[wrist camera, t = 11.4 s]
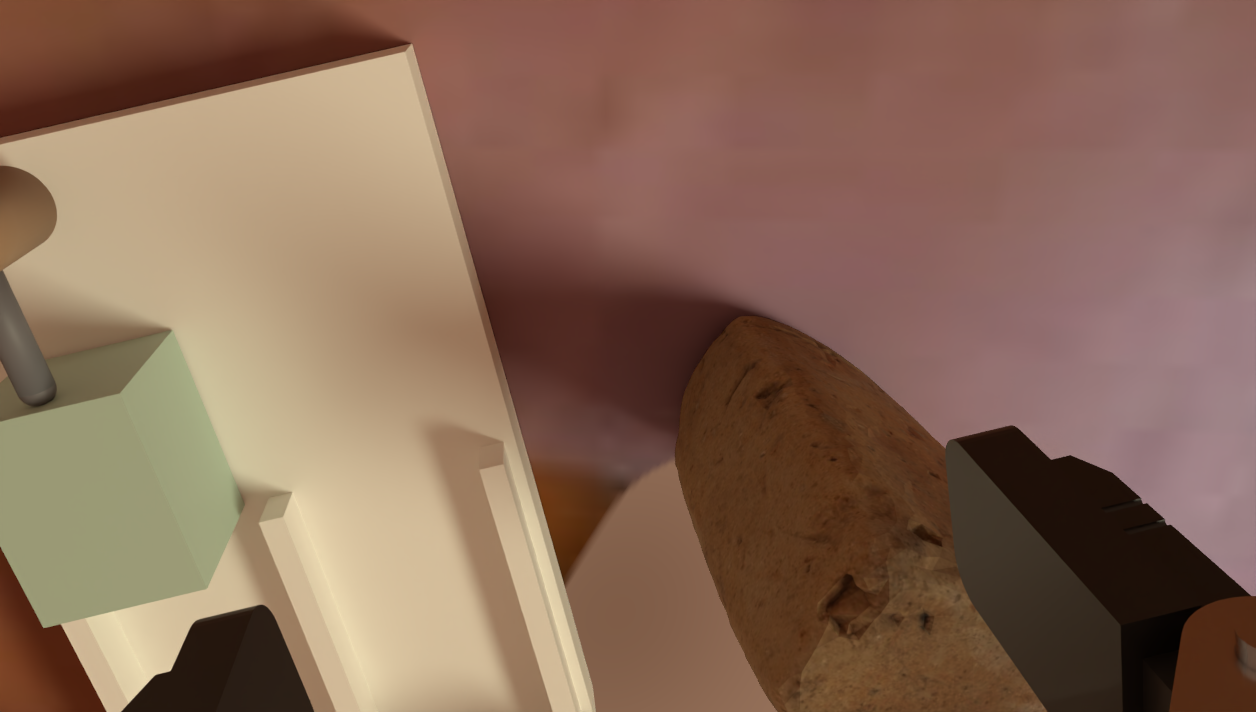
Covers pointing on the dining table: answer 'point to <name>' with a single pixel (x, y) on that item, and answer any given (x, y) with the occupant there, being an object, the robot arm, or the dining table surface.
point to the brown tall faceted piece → (832, 534)
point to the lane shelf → (315, 385)
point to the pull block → (101, 456)
